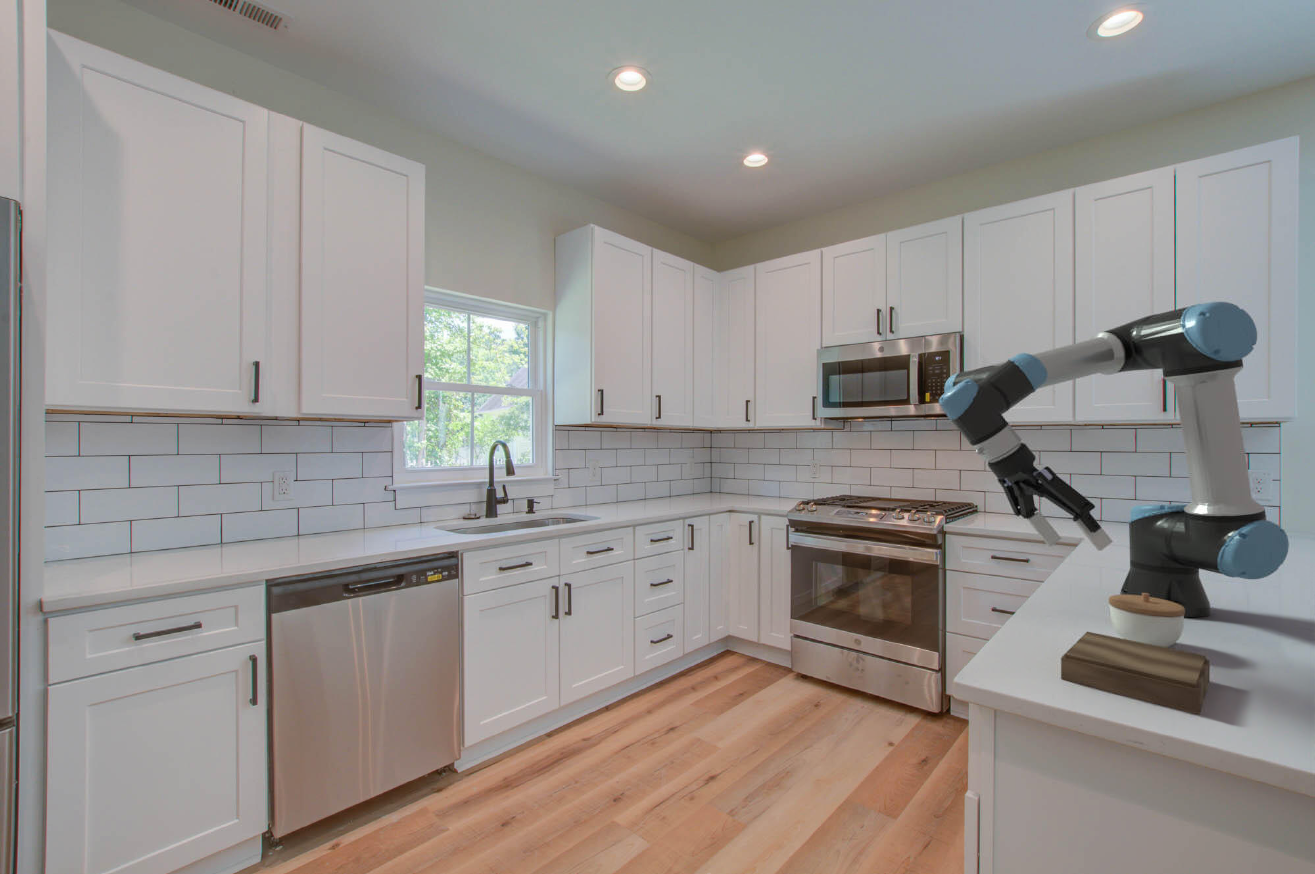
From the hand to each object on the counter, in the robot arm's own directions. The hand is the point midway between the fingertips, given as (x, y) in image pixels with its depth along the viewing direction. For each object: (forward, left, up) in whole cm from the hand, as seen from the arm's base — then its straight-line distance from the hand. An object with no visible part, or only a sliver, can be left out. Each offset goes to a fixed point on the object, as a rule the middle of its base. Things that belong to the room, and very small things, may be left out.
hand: (1079, 544), depth 108 cm
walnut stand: (+9, +15, -18) cm, 25 cm away
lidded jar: (-10, +5, -18) cm, 22 cm away
